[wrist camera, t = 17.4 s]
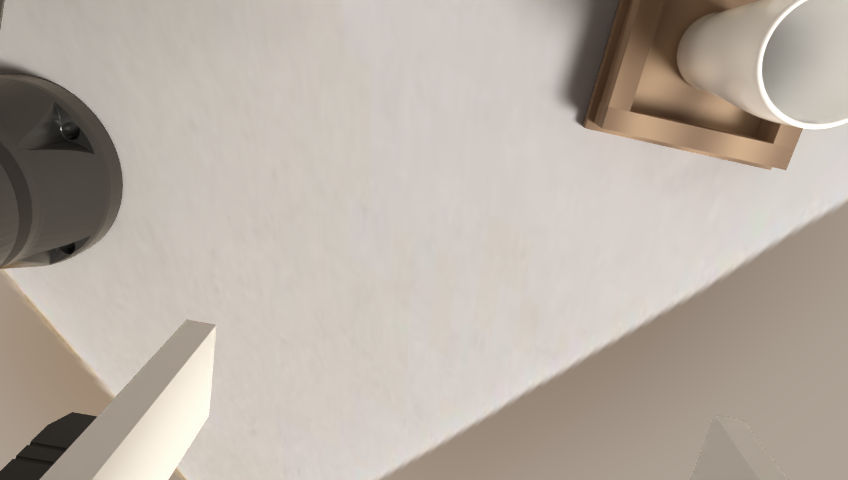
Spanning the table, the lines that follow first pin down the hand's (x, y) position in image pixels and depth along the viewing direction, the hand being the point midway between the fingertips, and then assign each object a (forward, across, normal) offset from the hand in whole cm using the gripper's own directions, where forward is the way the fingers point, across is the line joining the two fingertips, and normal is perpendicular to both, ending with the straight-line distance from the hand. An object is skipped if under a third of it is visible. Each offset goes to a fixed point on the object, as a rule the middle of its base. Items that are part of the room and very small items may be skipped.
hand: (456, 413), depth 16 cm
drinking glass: (+33, -16, -11) cm, 38 cm away
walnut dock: (+34, -16, -11) cm, 39 cm away
